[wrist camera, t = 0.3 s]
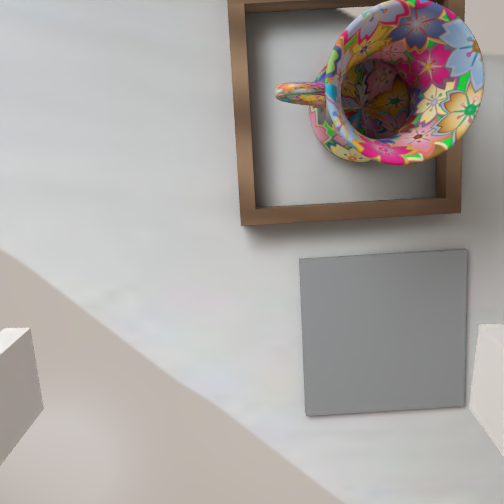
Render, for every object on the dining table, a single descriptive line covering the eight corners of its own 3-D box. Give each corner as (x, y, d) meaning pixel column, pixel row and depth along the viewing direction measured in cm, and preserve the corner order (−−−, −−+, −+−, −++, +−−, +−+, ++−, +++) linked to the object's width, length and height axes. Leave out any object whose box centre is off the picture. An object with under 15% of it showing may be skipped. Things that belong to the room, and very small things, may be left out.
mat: (299, 258, 40) (299, 259, 39) (464, 248, 40) (467, 249, 39) (305, 413, 42) (306, 416, 41) (461, 403, 42) (464, 406, 42)
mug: (420, 46, 37) (491, -4, 26) (414, 166, 38) (479, 164, 28) (268, 46, 37) (278, -4, 26) (268, 167, 38) (278, 165, 28)
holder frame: (227, -4, 36) (226, -14, 34) (452, -15, 36) (465, -26, 34) (241, 223, 39) (241, 225, 37) (449, 210, 39) (460, 212, 37)
